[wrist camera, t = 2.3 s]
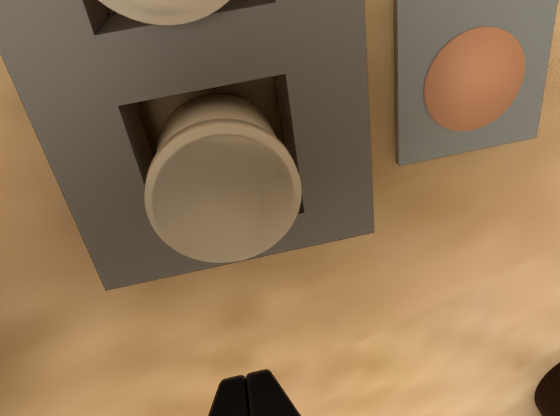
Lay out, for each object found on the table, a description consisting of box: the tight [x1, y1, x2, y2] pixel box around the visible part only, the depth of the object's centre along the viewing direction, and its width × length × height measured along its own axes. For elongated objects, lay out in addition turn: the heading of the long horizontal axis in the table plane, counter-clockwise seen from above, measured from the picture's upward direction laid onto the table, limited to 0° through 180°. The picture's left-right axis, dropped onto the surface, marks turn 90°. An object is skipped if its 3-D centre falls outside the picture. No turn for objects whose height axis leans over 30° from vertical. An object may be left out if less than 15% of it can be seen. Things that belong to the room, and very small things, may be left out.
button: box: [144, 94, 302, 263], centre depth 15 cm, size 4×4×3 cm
